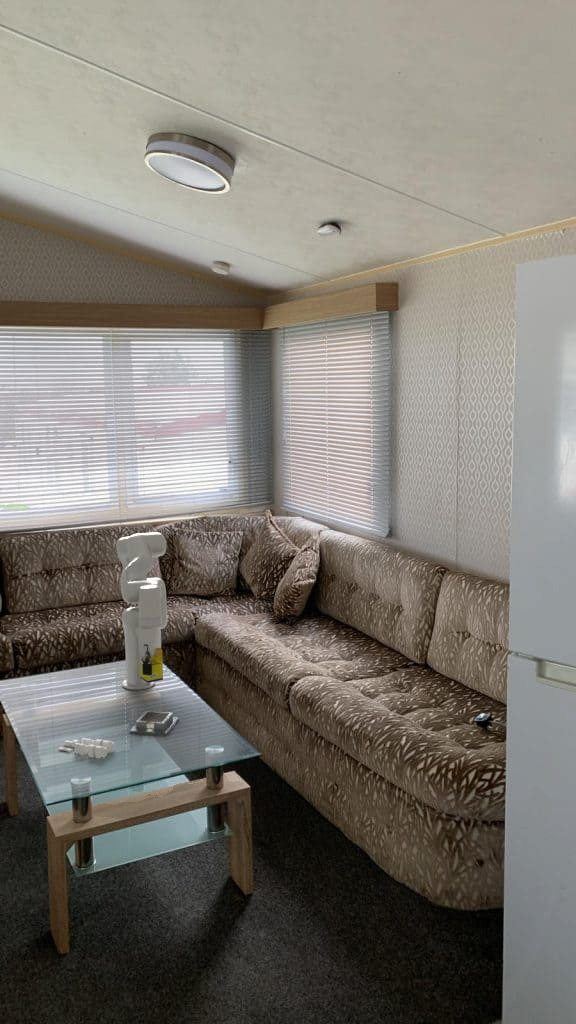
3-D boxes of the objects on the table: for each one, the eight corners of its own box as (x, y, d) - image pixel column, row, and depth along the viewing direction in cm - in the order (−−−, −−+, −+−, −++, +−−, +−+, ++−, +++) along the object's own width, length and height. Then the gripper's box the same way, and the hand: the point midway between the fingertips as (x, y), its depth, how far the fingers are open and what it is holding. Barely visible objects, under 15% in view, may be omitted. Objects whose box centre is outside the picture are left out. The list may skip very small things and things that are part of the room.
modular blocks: (114, 751, 277) (113, 739, 276) (103, 760, 270) (102, 748, 270) (61, 743, 283) (61, 732, 282) (49, 752, 276) (49, 740, 276)
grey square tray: (143, 717, 304) (143, 708, 303) (178, 720, 301) (178, 710, 301) (129, 733, 290) (129, 723, 289) (166, 736, 288) (166, 726, 287)
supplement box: (163, 680, 293) (162, 649, 291) (147, 683, 289) (146, 652, 288) (156, 675, 298) (155, 645, 296) (140, 678, 294) (139, 648, 293)
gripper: (148, 614, 300) (150, 662, 302) (130, 627, 283) (132, 678, 285) (169, 615, 298) (170, 663, 301) (152, 628, 281) (153, 679, 284)
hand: (151, 670), depth 293 cm, fingers closed on supplement box, 8 cm apart
